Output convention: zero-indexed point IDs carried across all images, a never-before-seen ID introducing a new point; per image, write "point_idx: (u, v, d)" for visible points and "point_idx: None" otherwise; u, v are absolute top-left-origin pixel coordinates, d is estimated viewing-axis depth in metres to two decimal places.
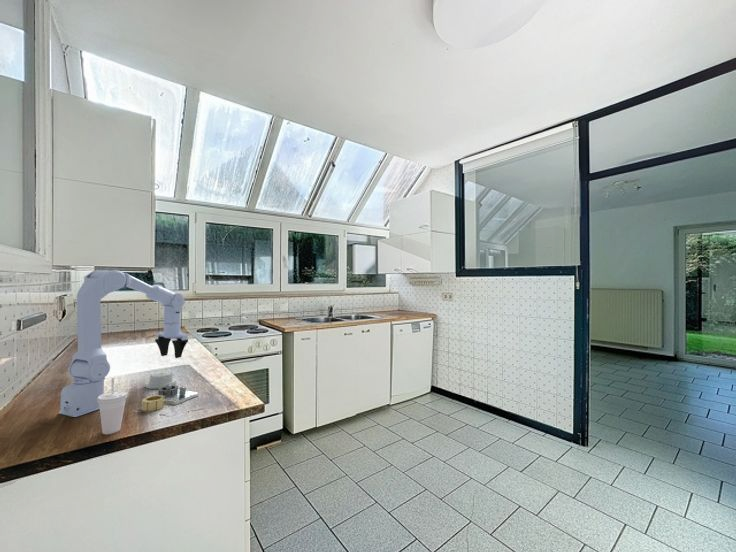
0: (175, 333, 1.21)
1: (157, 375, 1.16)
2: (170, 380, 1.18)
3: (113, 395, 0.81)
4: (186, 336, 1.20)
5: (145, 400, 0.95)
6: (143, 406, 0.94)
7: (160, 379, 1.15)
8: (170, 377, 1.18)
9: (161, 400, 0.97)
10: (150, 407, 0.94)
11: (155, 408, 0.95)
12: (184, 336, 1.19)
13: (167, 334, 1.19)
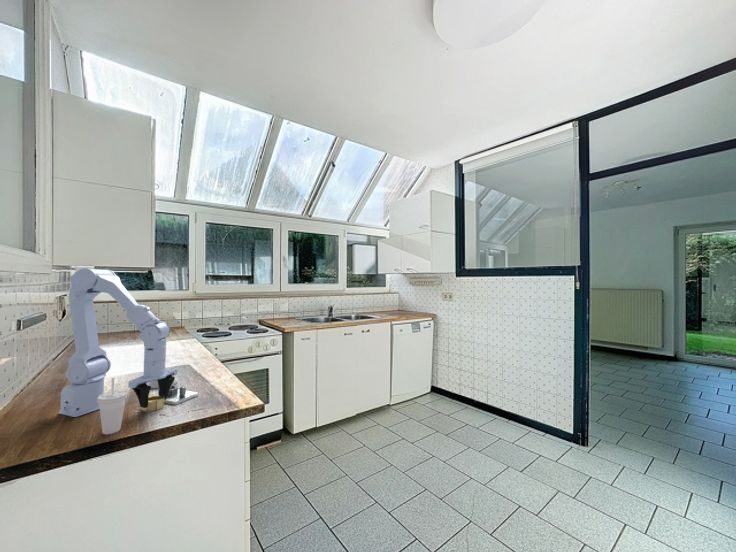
0: (144, 375, 0.95)
1: None
2: None
3: (113, 395, 0.81)
4: (131, 383, 0.90)
5: None
6: None
7: None
8: None
9: (161, 400, 0.97)
10: (150, 407, 0.94)
11: (155, 408, 0.95)
12: (129, 383, 0.90)
13: None
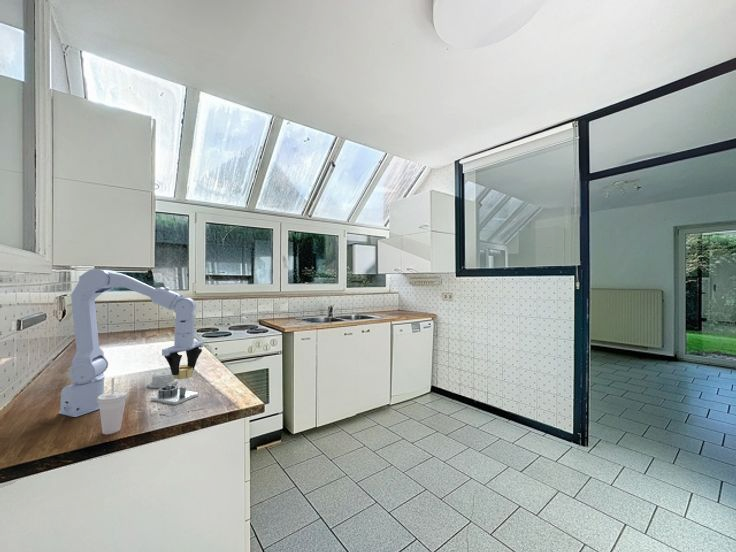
0: (175, 345, 1.02)
1: (159, 374, 1.17)
2: (172, 379, 1.19)
3: (113, 395, 0.81)
4: (165, 351, 0.98)
5: None
6: None
7: (162, 378, 1.16)
8: (172, 376, 1.19)
9: (191, 369, 1.04)
10: (181, 375, 1.02)
11: (185, 376, 1.02)
12: (163, 351, 0.98)
13: None
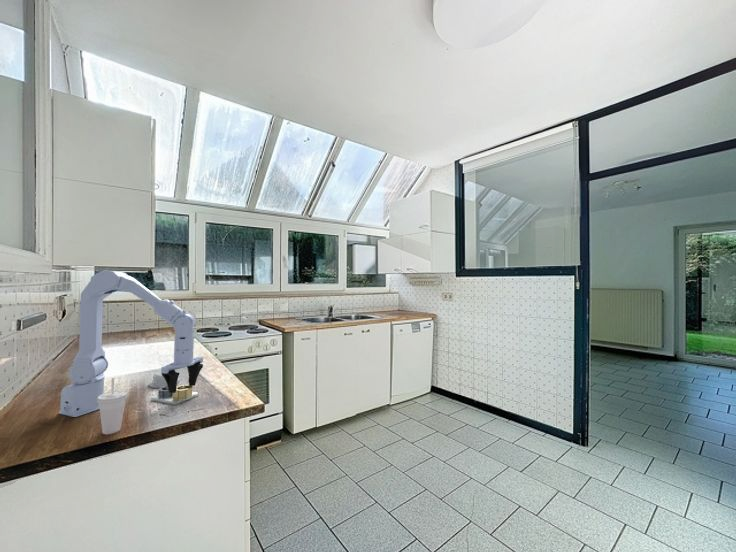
0: (174, 362, 1.02)
1: (161, 374, 1.18)
2: None
3: (113, 395, 0.81)
4: (164, 369, 0.98)
5: None
6: (174, 394, 1.02)
7: (163, 377, 1.16)
8: None
9: (190, 389, 1.04)
10: (180, 395, 1.02)
11: (185, 396, 1.02)
12: (162, 368, 0.98)
13: None
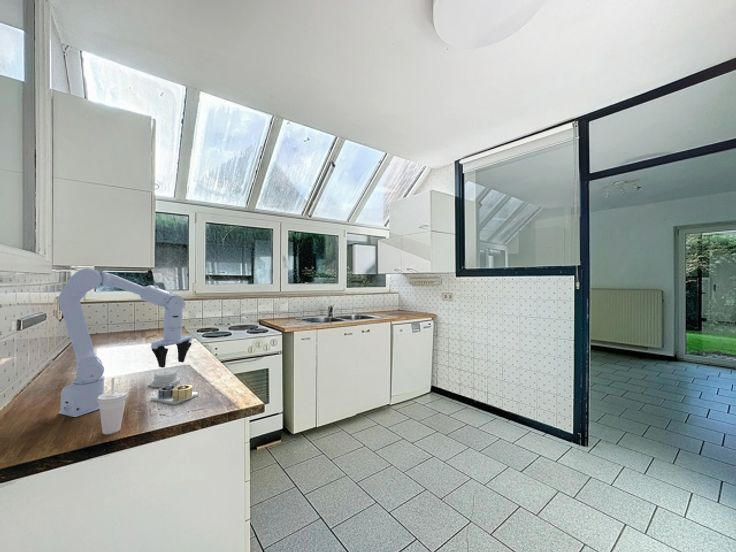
0: (164, 339, 1.09)
1: (161, 374, 1.18)
2: (174, 379, 1.20)
3: (113, 395, 0.81)
4: (154, 345, 1.04)
5: (175, 389, 1.03)
6: (174, 394, 1.02)
7: (164, 377, 1.17)
8: (174, 376, 1.20)
9: (190, 389, 1.04)
10: (180, 395, 1.02)
11: (185, 396, 1.02)
12: (152, 344, 1.05)
13: None
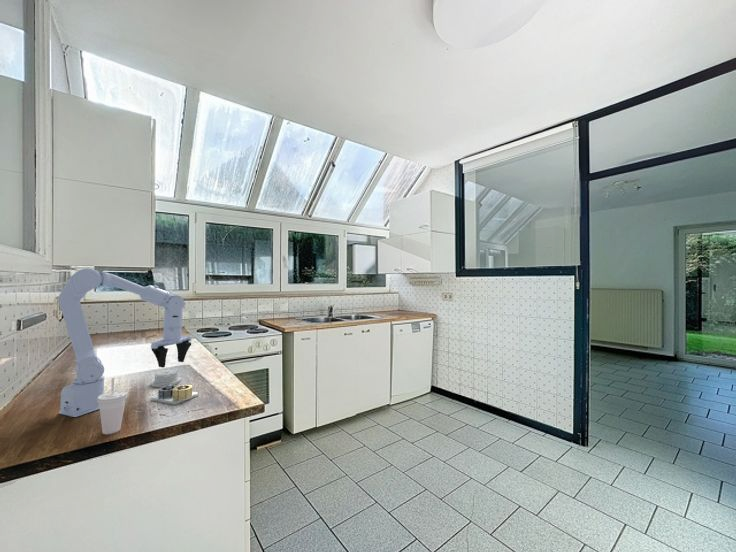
0: (164, 339, 1.09)
1: (162, 374, 1.18)
2: (175, 378, 1.20)
3: (113, 395, 0.81)
4: (154, 344, 1.05)
5: (175, 389, 1.03)
6: (174, 394, 1.02)
7: (165, 377, 1.17)
8: (175, 376, 1.20)
9: (190, 389, 1.04)
10: (180, 395, 1.02)
11: (185, 396, 1.02)
12: (152, 344, 1.05)
13: None
